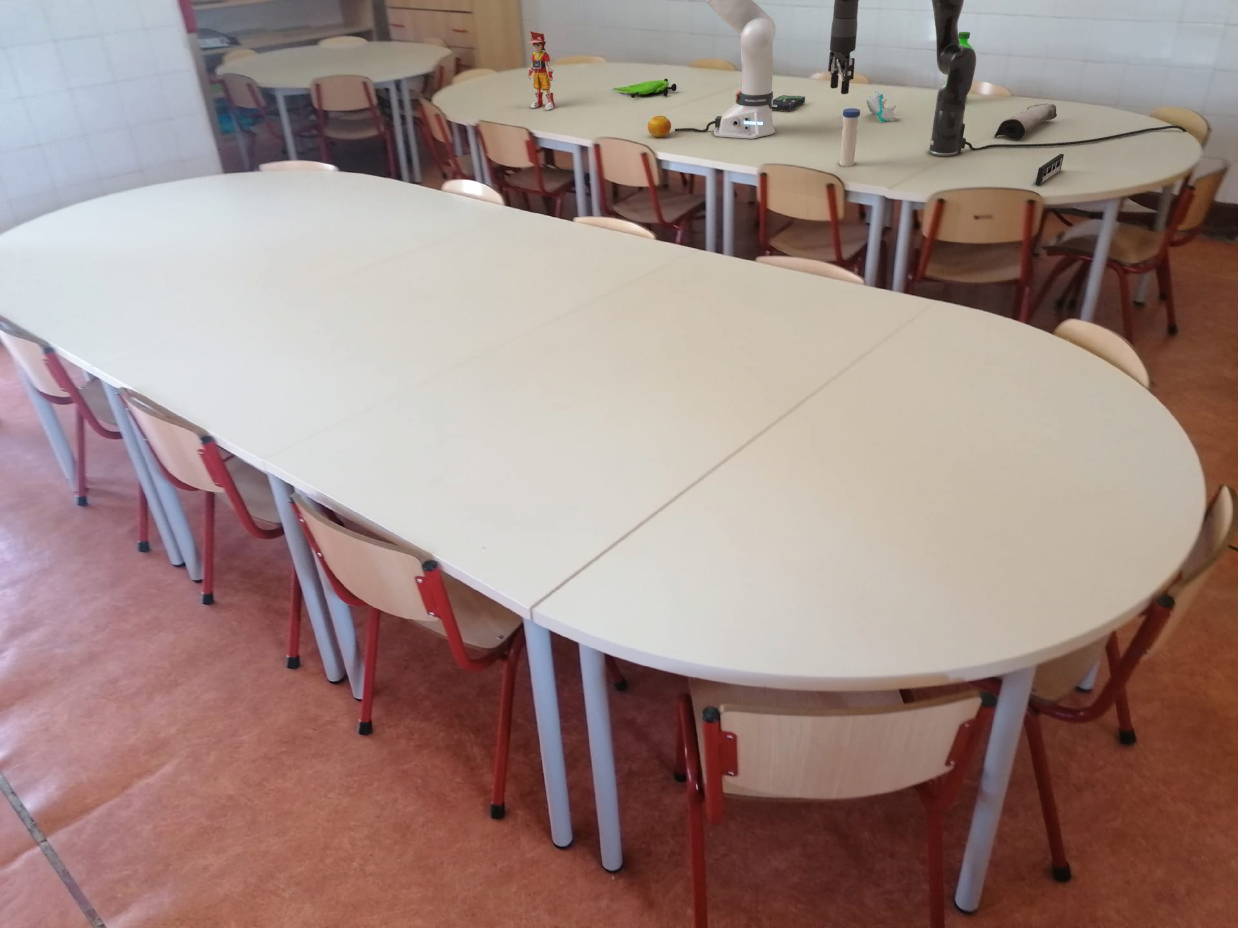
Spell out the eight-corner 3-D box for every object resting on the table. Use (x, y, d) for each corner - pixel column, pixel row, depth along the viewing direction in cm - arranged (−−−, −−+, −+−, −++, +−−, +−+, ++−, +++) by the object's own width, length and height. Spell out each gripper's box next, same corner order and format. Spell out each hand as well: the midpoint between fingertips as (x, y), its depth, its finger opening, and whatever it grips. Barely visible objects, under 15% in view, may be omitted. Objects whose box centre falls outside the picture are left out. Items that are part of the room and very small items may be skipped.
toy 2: (686, 85, 398) (631, 84, 414) (685, 72, 395) (629, 72, 411) (651, 104, 381) (596, 103, 397) (650, 92, 378) (594, 91, 394)
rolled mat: (1024, 108, 329) (1048, 91, 321) (1038, 129, 330) (1062, 112, 321) (990, 131, 312) (1014, 113, 304) (1004, 153, 312) (1029, 136, 304)
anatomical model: (861, 90, 342) (887, 83, 342) (863, 118, 348) (889, 111, 348) (873, 100, 330) (900, 92, 329) (875, 128, 336) (902, 121, 335)
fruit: (641, 128, 333) (652, 109, 330) (648, 131, 340) (659, 112, 337) (658, 141, 331) (670, 121, 328) (665, 143, 339) (677, 124, 336)
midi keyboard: (1039, 185, 269) (1043, 168, 266) (1035, 184, 270) (1038, 168, 267) (1060, 170, 279) (1064, 154, 277) (1056, 169, 280) (1060, 153, 277)
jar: (845, 167, 294) (850, 114, 285) (836, 163, 298) (841, 111, 288) (856, 164, 296) (862, 112, 286) (847, 161, 299) (852, 109, 290)
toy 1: (525, 109, 381) (517, 32, 364) (534, 104, 388) (527, 28, 371) (550, 110, 377) (543, 32, 360) (559, 105, 384) (553, 28, 367)
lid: (850, 118, 285) (850, 113, 284) (839, 115, 289) (839, 110, 288) (863, 115, 287) (863, 110, 286) (852, 112, 291) (852, 107, 290)
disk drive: (790, 112, 355) (805, 103, 365) (791, 105, 353) (805, 96, 363) (766, 110, 360) (781, 101, 370) (766, 103, 358) (781, 94, 368)
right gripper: (865, 36, 262) (859, 95, 271) (846, 29, 274) (841, 85, 283) (841, 39, 261) (836, 97, 270) (823, 31, 273) (819, 87, 282)
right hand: (839, 91), depth 277 cm, fingers open, 8 cm apart
